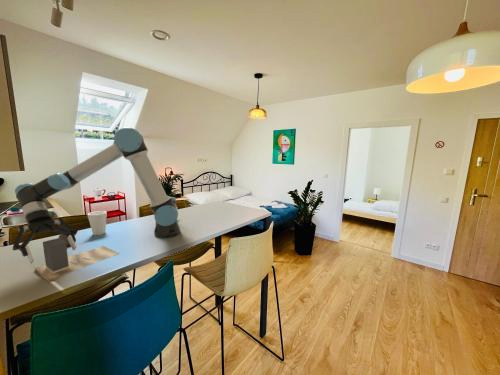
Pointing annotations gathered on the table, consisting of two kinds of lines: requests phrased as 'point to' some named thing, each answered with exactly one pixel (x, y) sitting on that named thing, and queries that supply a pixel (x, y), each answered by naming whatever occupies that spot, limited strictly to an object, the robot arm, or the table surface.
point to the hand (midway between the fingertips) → (54, 254)
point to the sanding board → (78, 262)
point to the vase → (64, 239)
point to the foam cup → (98, 222)
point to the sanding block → (55, 255)
